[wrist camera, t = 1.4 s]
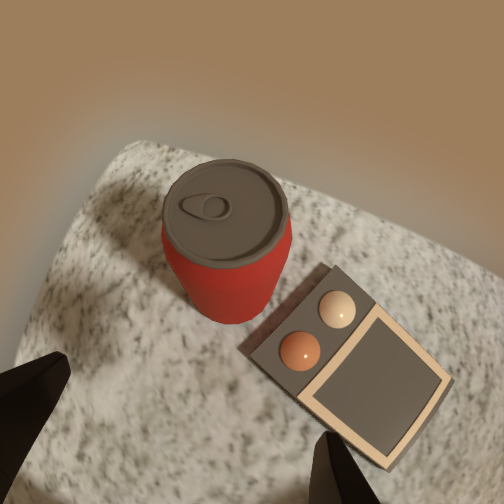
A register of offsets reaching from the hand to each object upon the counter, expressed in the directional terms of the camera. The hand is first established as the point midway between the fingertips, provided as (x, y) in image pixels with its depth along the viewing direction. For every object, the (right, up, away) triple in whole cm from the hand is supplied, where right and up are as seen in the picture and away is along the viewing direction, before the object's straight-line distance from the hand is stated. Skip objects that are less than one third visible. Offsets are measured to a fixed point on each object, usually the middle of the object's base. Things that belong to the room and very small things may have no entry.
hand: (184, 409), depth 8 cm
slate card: (+11, -5, +13) cm, 18 cm away
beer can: (0, +2, +16) cm, 16 cm away
